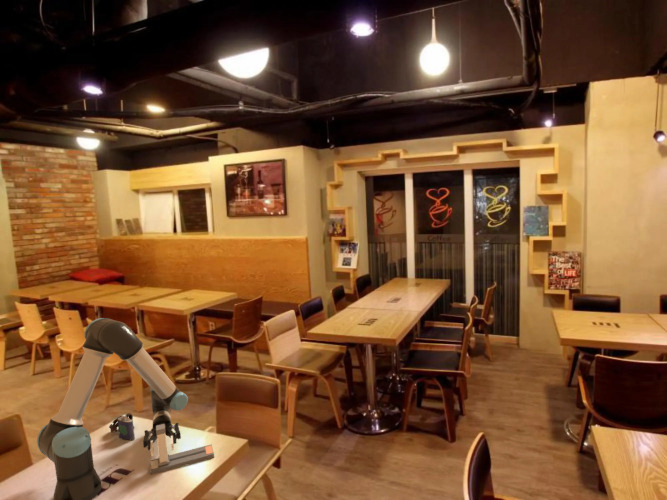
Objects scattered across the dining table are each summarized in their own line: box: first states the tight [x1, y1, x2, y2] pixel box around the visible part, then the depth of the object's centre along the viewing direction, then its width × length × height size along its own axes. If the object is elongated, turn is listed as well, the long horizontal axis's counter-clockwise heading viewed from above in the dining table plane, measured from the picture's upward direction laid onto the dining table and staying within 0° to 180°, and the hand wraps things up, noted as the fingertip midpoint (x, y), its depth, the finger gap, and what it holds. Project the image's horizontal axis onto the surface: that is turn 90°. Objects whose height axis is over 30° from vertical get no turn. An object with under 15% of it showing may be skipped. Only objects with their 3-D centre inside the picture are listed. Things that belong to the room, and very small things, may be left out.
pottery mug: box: [108, 412, 135, 433], centre depth 199 cm, size 12×10×8 cm
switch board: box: [150, 443, 215, 475], centre depth 171 cm, size 24×8×2 cm, turn 113°
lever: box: [156, 424, 170, 466], centre depth 168 cm, size 4×6×14 cm
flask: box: [117, 415, 136, 442], centre depth 191 cm, size 9×3×11 cm, turn 64°
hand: (162, 449), depth 163 cm, fingers open, 7 cm apart
